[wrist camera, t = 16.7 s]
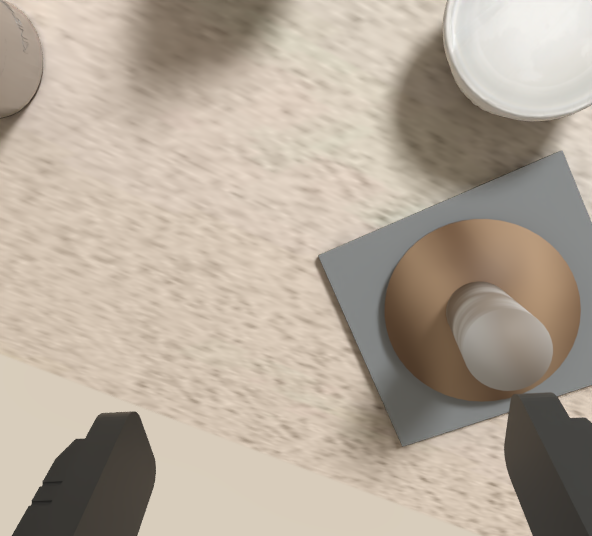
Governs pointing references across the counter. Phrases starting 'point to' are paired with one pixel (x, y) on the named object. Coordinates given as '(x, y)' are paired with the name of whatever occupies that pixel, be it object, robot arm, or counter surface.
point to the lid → (482, 310)
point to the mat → (406, 232)
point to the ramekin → (521, 55)
